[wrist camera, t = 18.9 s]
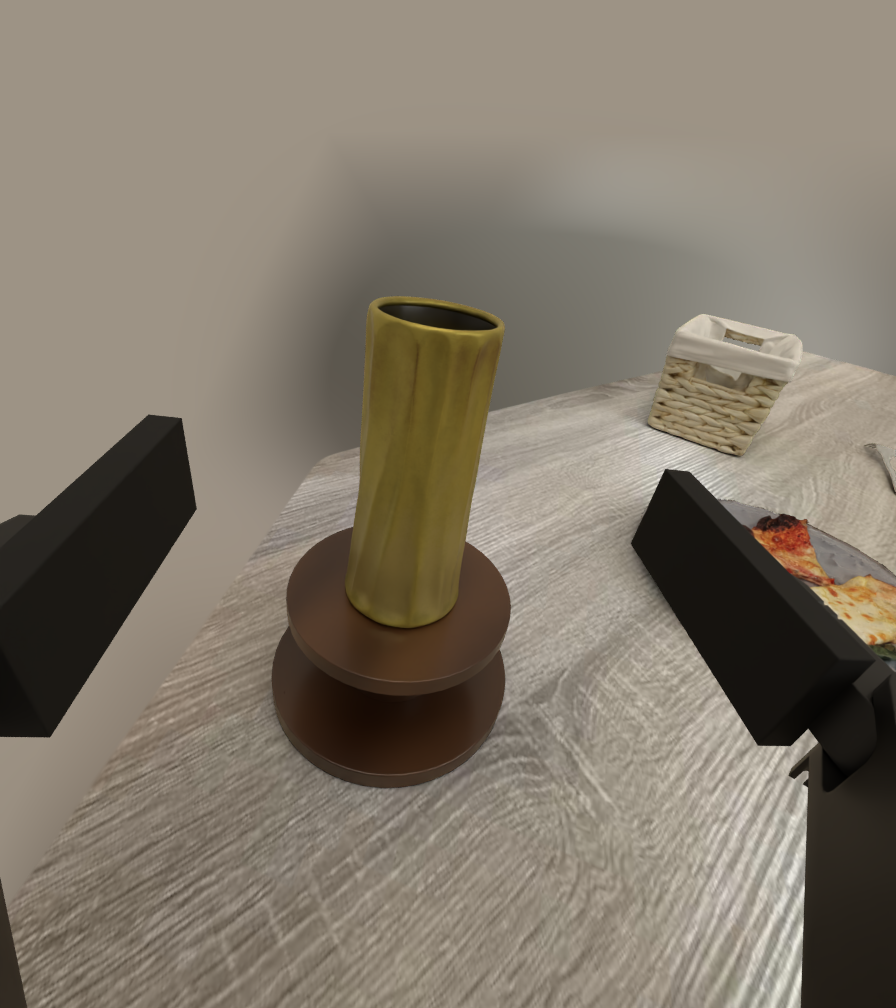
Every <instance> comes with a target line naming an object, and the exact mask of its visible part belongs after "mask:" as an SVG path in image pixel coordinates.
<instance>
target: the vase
mask: <svg viewBox="0 0 896 1008" xmlns="http://www.w3.org/2000/svg"><path fill="white" fill-rule="evenodd" d="M504 330H505V326H504V323H503V322H502V320H500V319H499V318H497V317H495V316H494V315H492V314H490V313H487V312H485V311H482V310H479V309H476V308H472V307H469V306H465V305H461V304H457V303H452V302H447V301H442V300H435V299H427V298H418V297H404V296H401V297H399V296H395V297H383V298H379V299H376V300H374V301H373V302H372V303H371V304H370V305H369V309H368V314H367V323H366V348H365V367H364V390H363V408H362V424H361V443H360V484H359V493H358V499H357V506H356V513H355V519H354V526H353V533H352V539H351V547H350V554H349V561H348V568H347V573H346V577H345V588H346V593H347V596H348V598H349V600H350V602H351V603H352V604H353V606H354V607H355V608H356V609H357V610H358V611H360V612H361V613H362V614H364V615H365V616H367V617H369V618H370V619H372V620H374V621H375V622H378V623H380V624H384V625H387V626H392V627H399V628H414V627H420V626H424V625H427V624H430V623H433V622H435V621H437V620H439V619H441V618H442V617H444V616H445V615H446V614H447V613H448V612H449V611H450V610H451V609H452V608H453V606H454V605H455V603H456V601H457V598H458V587H459V577H460V570H461V564H462V557H463V551H464V546H465V540H466V534H467V527H468V521H469V515H470V509H471V503H472V497H473V492H474V488H475V482H476V477H477V472H478V466H479V460H480V454H481V448H482V443H483V437H484V432H485V426H486V420H487V415H488V410H489V405H490V399H491V394H492V389H493V384H494V379H495V375H496V370H497V365H498V361H499V356H500V351H501V346H502V340H503V335H504Z"/></svg>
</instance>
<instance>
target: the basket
mask: <svg viewBox="0 0 896 1008" xmlns="http://www.w3.org/2000/svg"><path fill="white" fill-rule="evenodd" d="M724 337H727V338H732V339H733V340H739V341H742V342H746V343H748V344H754V345H759V346H761V347H760V350H759V352H758V351H754V350H751V349H747V348H744V347H740V346H737V345H734V344H730V343H726V342H722V340H723V338H724ZM802 347H803V345H802V341H801V340H800V339H799V338H797V336H795V335H792V334H785V333H780V332H777V331H773V330H769V329H765V328H761V327H757V326H753V325H749V324H744V323H740V322H736V321H732V320H728V319H724V318H718V317H714V316H710V315H705V314H701V315H699V316H697V317H695V318H693V319H691V320H690V321H688V322H687V323H686V324H684V325H683V326H681V327H680V328H678V329H677V330H676V332H675V335H674V337H673V340H672V343H671V345H670V346H669V348H668V352H667V357H666V364H665V366H664V368H663V373H662V376H661V381H660V382H659V385H658V387H659V388H658V389H657V390H656V393H655V397H654V399H653V401H654V402H653V405H652V410H651V412H650V416H649V418H648V424H649V425H650V426H652V427H653V428H655V429H658V430H662V431H666V432H668V433H670V434H673V435H676V436H681V437H682V438H684V439H687V440H690V441H693V442H696V443H700V444H701V445H704V446H707V447H711V448H715V449H718V451H721V452H724V453H729V454H734V455H738V456H742V455H743V454H744V453H745V451H746V449H747V448H748V447H749V445H750V444H751V442H752V440H753V437H754V435H755V434H756V432H758V430H759V429H760V427H761V424H762V423H764V421H765V419H766V418H767V416H768V414H769V412H770V408H772V407H773V405H774V403H775V400H777V398H778V396H779V393H780V391H781V390H782V389H783V387H784V386H785V385H786V384H787V383H788V382H791V381H792V379H793V376H794V374H795V371H796V369H797V368H798V366H799V364H800V362H801V359H802Z"/></svg>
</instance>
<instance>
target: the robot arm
mask: <svg viewBox="0 0 896 1008" xmlns="http://www.w3.org/2000/svg"><path fill="white" fill-rule="evenodd" d="M196 509H197V508H196V503H195V496H194V490H193V485H192V478H191V472H190V466H189V460H188V455H187V448H186V442H185V436H184V430H183V423H182V418H175V417H166V416H156V415H148V416H146V418H144V419H143V420H142V421H141V422H140V423H139V424H138V425H136V426H135V427H134V428H133V429H132V430H131V431H130V432H129V433H127V434H126V435H125V436H124V437H123V438H122V439H121V440H120V441H119V442H118V443H116V444H115V445H114V446H113V447H112V448H111V449H110V450H109V451H107V452H106V453H105V454H104V455H103V456H102V457H101V458H100V459H99V460H97V461H96V462H95V463H94V464H93V465H92V466H91V467H90V468H89V469H87V470H86V471H85V472H84V473H83V474H82V475H81V476H80V477H78V478H77V479H76V480H75V481H74V482H73V483H72V484H71V485H70V486H68V487H67V488H66V489H65V490H64V491H63V492H62V493H61V494H60V495H58V496H57V498H55V499H54V500H53V501H52V502H51V503H50V504H48V505H47V506H46V507H45V508H44V509H43V510H42V511H41V512H40V513H38V514H37V515H36V516H32V515H18V516H16V517H13V518H11V519H9V520H7V521H5V522H3V523H1V524H0V737H51V735H52V734H53V732H54V730H55V729H56V727H57V726H58V724H59V723H60V721H61V720H62V718H63V716H64V715H65V713H66V712H67V710H68V708H69V707H70V706H71V704H72V702H73V701H74V699H75V697H76V696H77V694H78V693H79V691H80V690H81V688H82V687H83V685H84V684H85V682H86V681H87V679H88V677H89V676H90V674H91V673H92V671H93V670H94V668H95V666H96V665H97V663H98V662H99V660H100V659H101V657H102V656H103V654H104V652H105V651H106V649H107V648H108V646H109V645H110V643H111V642H112V640H113V638H114V637H115V635H116V634H117V632H118V631H119V629H120V627H121V626H122V624H123V623H124V621H125V620H126V618H127V616H128V615H129V614H130V612H131V610H132V609H133V607H134V606H135V604H136V603H137V601H138V599H139V598H140V596H141V595H142V593H143V592H144V590H145V589H146V587H147V586H148V584H149V582H150V581H151V579H152V578H153V576H154V575H155V573H156V571H157V570H158V568H159V567H160V565H161V564H162V562H163V561H164V559H165V557H166V556H167V554H168V553H169V551H170V550H171V547H172V546H173V545H174V543H175V542H176V540H177V539H178V537H179V536H180V534H181V533H182V531H183V529H184V528H185V526H186V525H187V523H188V522H189V520H190V519H191V517H192V515H193V514H194V512H195V511H196ZM631 544H632V546H633V548H634V549H635V551H636V552H637V554H638V556H639V557H640V559H641V560H642V562H643V564H644V565H645V567H646V568H647V570H648V571H649V573H650V575H651V576H652V578H653V579H654V581H655V583H656V584H657V586H658V587H659V589H660V591H661V592H662V594H663V595H664V597H665V599H666V600H667V602H668V603H669V605H670V606H671V608H672V610H673V611H674V613H675V614H676V616H677V618H678V619H679V621H680V622H681V624H682V626H683V627H684V629H685V630H686V632H687V633H688V635H689V637H690V638H691V640H692V641H693V643H694V645H695V646H696V648H697V649H698V651H699V653H700V654H701V656H702V657H703V659H704V661H705V662H706V664H707V665H708V667H709V668H710V670H711V672H712V673H713V675H714V676H715V678H716V680H717V681H718V683H719V684H720V686H721V688H722V689H723V691H724V692H725V694H726V695H727V697H728V699H729V700H730V702H731V703H732V705H733V707H734V708H735V710H736V711H737V713H738V715H739V716H740V718H741V719H742V721H743V723H744V724H745V726H746V727H747V729H748V730H749V732H750V734H751V735H752V737H753V738H754V740H755V742H756V743H757V745H758V746H791V745H792V744H793V743H794V742H795V741H796V740H797V739H798V738H799V737H800V736H801V735H802V734H803V733H804V732H805V731H806V730H807V729H809V730H810V731H811V733H812V734H813V735H814V737H815V738H816V739H817V741H818V742H819V743H818V744H817V745H816V746H814V747H813V748H812V749H811V750H810V751H809V752H808V753H807V754H806V755H805V756H804V757H803V758H802V759H801V760H800V761H799V762H798V763H797V764H796V765H795V766H793V767H792V768H791V771H790V773H789V776H790V777H792V778H793V779H795V778H796V777H797V776H798V775H799V774H801V773H802V772H803V771H809V778H808V779H807V780H806V781H805V782H804V783H803V785H805V786H807V787H808V808H807V838H806V867H805V897H804V927H803V957H802V987H801V1008H896V672H894V671H893V670H892V669H891V668H890V667H889V666H888V665H887V664H886V663H885V662H884V661H883V660H882V659H881V658H880V657H879V656H878V655H877V654H876V653H875V652H874V651H873V650H872V649H871V648H870V647H869V646H868V645H867V644H866V643H865V642H864V641H863V640H862V639H861V638H860V637H859V636H858V635H857V634H856V633H855V632H854V631H853V630H852V629H851V628H850V627H849V626H848V625H847V624H846V623H845V622H844V621H843V620H842V619H838V615H837V614H836V613H835V612H834V611H833V610H832V609H831V608H830V607H829V606H828V605H824V601H823V600H822V599H821V598H820V597H819V596H818V595H817V594H816V593H815V592H814V591H813V590H812V589H811V588H810V587H809V586H808V585H807V584H805V583H804V582H802V581H801V580H799V579H798V578H797V577H795V576H794V575H792V574H791V573H789V572H788V571H787V570H786V569H785V568H784V567H783V566H782V565H781V564H780V563H779V562H778V561H777V560H776V559H775V558H774V557H773V556H772V555H771V554H770V553H769V552H768V551H767V550H766V549H765V548H764V547H763V546H762V545H761V544H760V543H759V542H758V540H757V539H756V538H755V537H754V536H753V535H752V534H751V533H750V532H749V531H748V530H747V529H746V528H745V527H744V526H743V525H742V524H741V523H740V522H739V521H738V520H737V519H736V518H735V517H734V516H733V515H732V514H731V513H730V512H729V511H728V510H727V509H726V508H725V507H724V506H723V505H722V504H721V503H720V502H719V501H718V500H717V499H716V498H715V497H714V496H713V495H712V494H711V493H710V492H709V491H708V490H707V489H706V488H705V487H704V486H703V485H702V484H701V483H700V482H699V481H698V480H697V479H696V478H695V477H694V476H693V475H692V474H691V473H690V472H688V471H678V470H669V469H665V471H664V473H663V475H662V477H661V479H660V482H659V484H658V486H657V488H656V490H655V492H654V495H653V497H652V499H651V501H650V503H649V505H648V507H647V510H646V512H645V514H644V516H643V518H642V520H641V522H640V525H639V527H638V529H637V531H636V533H635V535H634V537H633V540H632V542H631ZM0 1008H27V1005H26V1000H25V995H24V990H23V985H22V981H21V976H20V971H19V966H18V961H17V957H16V952H15V947H14V942H13V937H12V932H11V928H10V923H9V918H8V913H7V908H6V904H5V899H4V894H3V889H2V884H1V879H0Z"/></svg>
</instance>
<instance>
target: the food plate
mask: <svg viewBox="0 0 896 1008" xmlns="http://www.w3.org/2000/svg"><path fill="white" fill-rule="evenodd" d="M718 501H719V502H720V503H721V504H722V505H723V506H724V507H725V508H726V509H727V510H728V511H729V512H730V513H731V514H732V515H733V516H734V517H735V518H736V519H737V520H738V521H739V522H740V523H741V524H742V525H743V526H744V527H745V528H746V529H747V530H748V531H749V532H750V533H751V534H752V535H753V536H754V537H755V538H756V539H757V540H758V542H759V543H760V544H761V545H762V546H763V547H764V548H765V549H766V550H767V551H768V552H769V553H770V554H771V555H772V556H773V557H774V558H775V559H776V560H777V561H778V562H779V563H780V564H781V565H782V566H783V567H784V568H785V569H786V570H787V571H788V572H789V573H791V574H792V575H794V576H795V577H797V578H798V579H799V580H801V581H802V582H804V583H805V584H807V585H808V586H809V587H810V588H811V589H812V590H813V591H814V592H815V593H816V594H817V595H818V596H819V597H820V598H821V599H822V600H823V601H824V605H828V606H829V607H830V608H831V609H832V610H833V611H834V612H835V613H836V614H837V615H838V619H842V620H843V621H844V622H845V623H846V624H847V625H848V626H849V627H850V628H851V629H852V630H853V631H854V632H855V633H856V634H857V635H858V636H859V637H860V638H861V639H862V640H863V641H864V642H865V643H866V644H867V645H868V646H869V647H870V648H871V649H872V650H873V651H874V652H875V653H876V654H877V655H878V656H879V657H880V658H881V659H882V660H883V661H884V662H885V663H886V664H887V665H888V666H889V667H890V668H891V669H892V670H893V671H894V672H896V576H895V575H894V574H893V572H891V571H890V570H888V569H887V568H886V567H885V566H884V565H883V564H880V563H878V561H876V560H874V559H872V558H870V557H869V556H867V555H866V554H864V553H863V552H861V551H860V550H858V549H857V548H855V547H853V546H851V545H849V544H848V543H845V542H843V541H841V540H839V539H837V538H835V537H833V536H831V535H829V534H827V533H825V532H823V531H821V530H819V529H818V528H815V527H813V526H811V525H809V524H807V523H809V522H807V519H804V520H798V519H796V518H795V517H794V516H790V515H786V514H777V513H774V512H771V511H768V510H767V509H764V508H761V507H754V506H750V505H746V504H742V503H739V502H737V501H735V500H733V501H732V500H728V501H727V500H721V499H718ZM647 507H648V506H647ZM647 507H646V508H645V510H644V512H643V513H642V514H643V515H642V516H641V517H642V518H643V516H644V514H645V512H646V510H647ZM642 518H641V519H642Z"/></svg>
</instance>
